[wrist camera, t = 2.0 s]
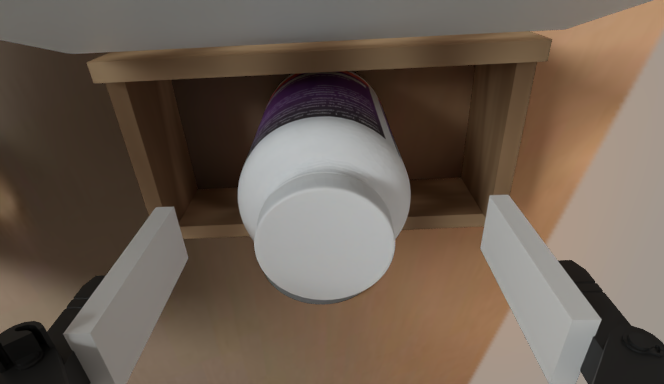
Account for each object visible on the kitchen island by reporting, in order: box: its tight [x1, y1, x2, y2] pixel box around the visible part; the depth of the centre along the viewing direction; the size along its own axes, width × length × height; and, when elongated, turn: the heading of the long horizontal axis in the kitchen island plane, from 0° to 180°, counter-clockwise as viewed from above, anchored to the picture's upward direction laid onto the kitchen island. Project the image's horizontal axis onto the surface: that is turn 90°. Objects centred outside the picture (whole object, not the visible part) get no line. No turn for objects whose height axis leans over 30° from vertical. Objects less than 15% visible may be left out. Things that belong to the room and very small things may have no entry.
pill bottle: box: [238, 71, 411, 300], centre depth 22 cm, size 8×8×14 cm
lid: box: [0, 0, 652, 54], centre depth 12 cm, size 22×12×1 cm
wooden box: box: [86, 31, 552, 239], centre depth 25 cm, size 22×12×7 cm, turn 93°
